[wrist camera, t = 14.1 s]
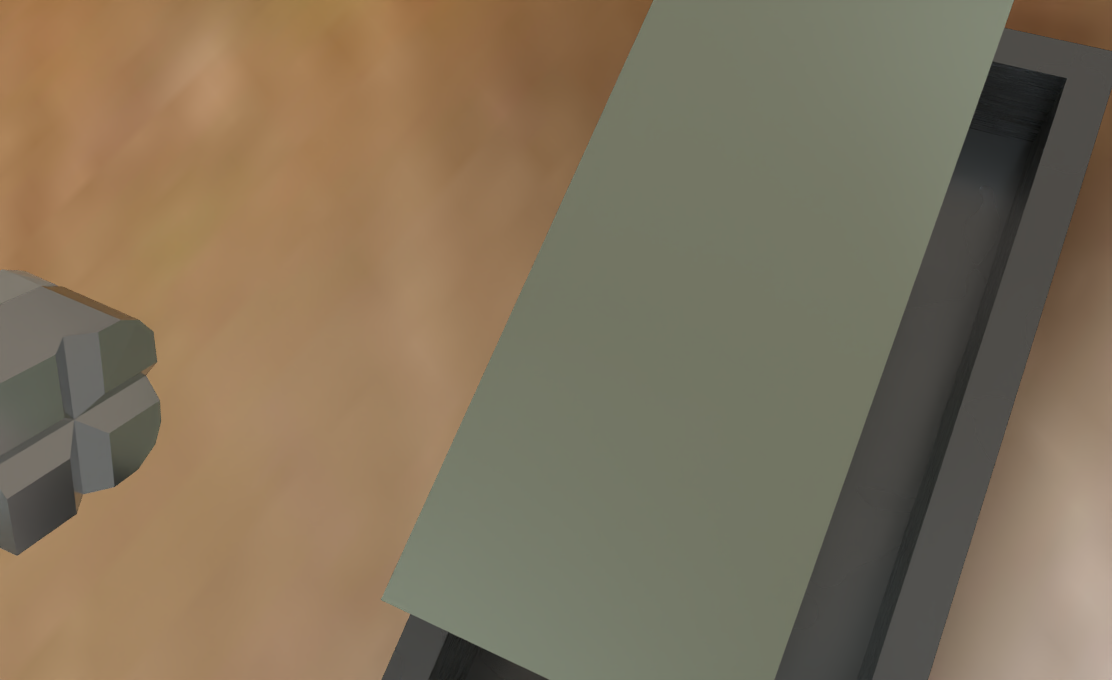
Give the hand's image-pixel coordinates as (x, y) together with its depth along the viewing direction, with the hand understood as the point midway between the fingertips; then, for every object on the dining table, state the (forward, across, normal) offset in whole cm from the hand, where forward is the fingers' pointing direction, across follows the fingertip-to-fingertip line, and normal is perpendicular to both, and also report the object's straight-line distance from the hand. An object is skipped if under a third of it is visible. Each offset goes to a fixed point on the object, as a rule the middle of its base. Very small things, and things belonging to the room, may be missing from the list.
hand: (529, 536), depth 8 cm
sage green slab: (+11, -1, +6) cm, 12 cm away
